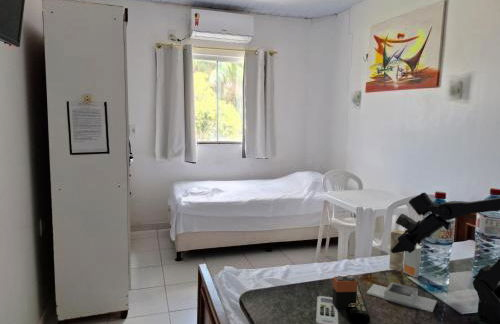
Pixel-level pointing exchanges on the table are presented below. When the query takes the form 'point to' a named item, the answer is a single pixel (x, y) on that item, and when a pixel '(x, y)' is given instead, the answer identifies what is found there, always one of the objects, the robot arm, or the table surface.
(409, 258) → the skincare box
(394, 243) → the ash hinge pin
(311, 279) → the table surface
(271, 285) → the table surface
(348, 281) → the battery
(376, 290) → the grey base plate
